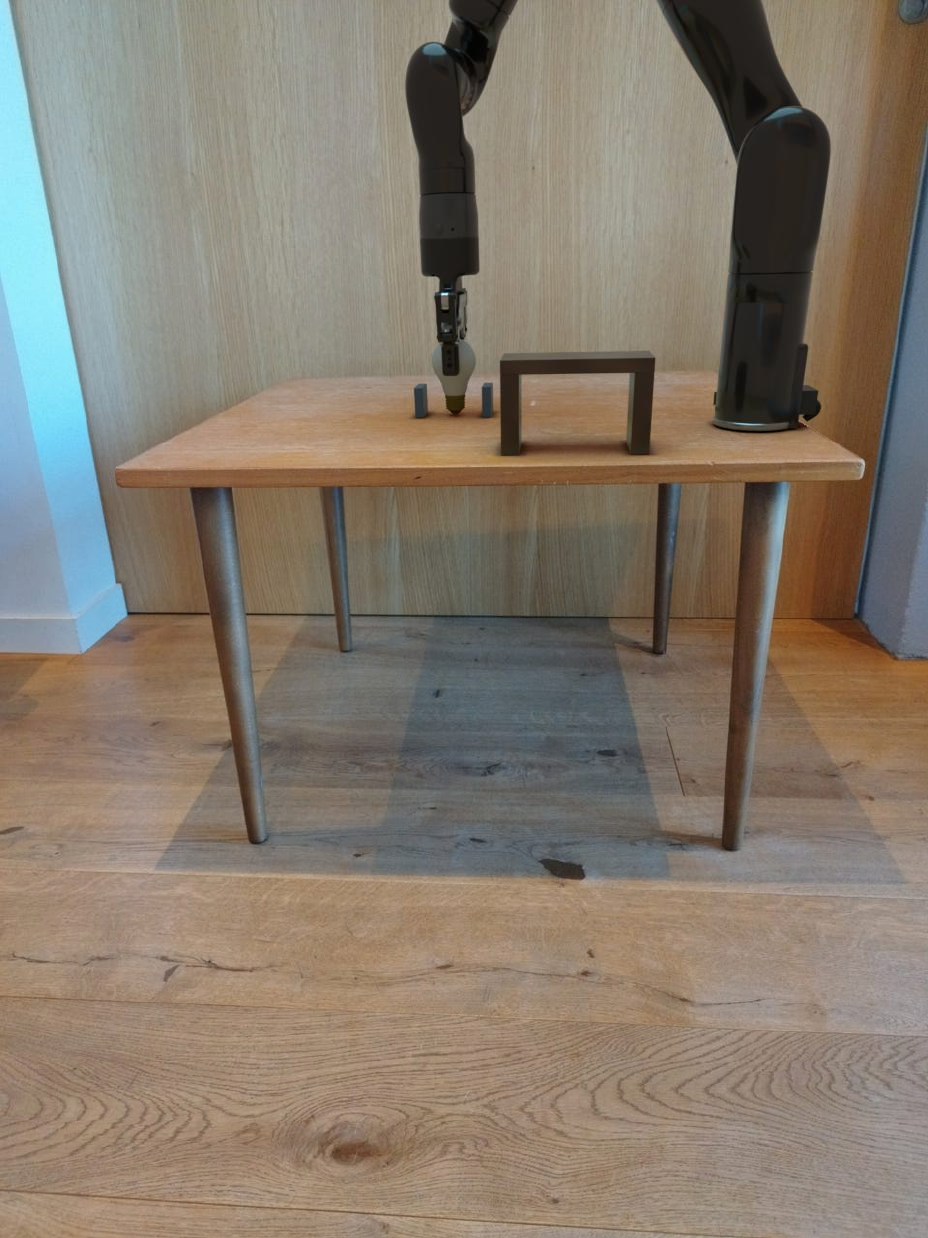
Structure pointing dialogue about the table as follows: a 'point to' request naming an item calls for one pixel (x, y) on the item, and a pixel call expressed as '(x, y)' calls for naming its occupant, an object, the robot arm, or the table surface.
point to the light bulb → (455, 384)
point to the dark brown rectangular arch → (578, 363)
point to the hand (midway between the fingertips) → (454, 371)
